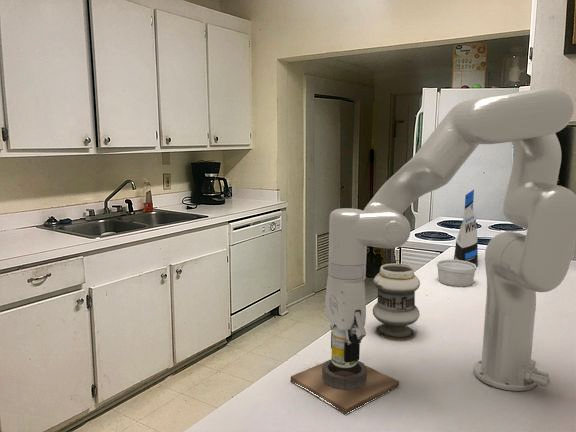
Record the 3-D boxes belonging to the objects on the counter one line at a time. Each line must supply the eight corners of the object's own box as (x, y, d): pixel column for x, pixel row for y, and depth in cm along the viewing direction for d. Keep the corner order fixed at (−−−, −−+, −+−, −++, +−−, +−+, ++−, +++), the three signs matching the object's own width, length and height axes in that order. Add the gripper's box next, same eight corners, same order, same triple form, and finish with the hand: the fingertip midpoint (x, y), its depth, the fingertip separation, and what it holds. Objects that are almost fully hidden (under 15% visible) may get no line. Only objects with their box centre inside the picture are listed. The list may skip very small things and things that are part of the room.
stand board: (399, 386, 98) (399, 370, 98) (345, 414, 88) (346, 396, 87) (343, 359, 110) (343, 344, 110) (290, 381, 100) (290, 365, 100)
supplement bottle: (334, 369, 96) (335, 324, 94) (329, 357, 101) (330, 314, 99) (360, 368, 96) (361, 323, 94) (354, 356, 101) (355, 313, 100)
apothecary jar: (362, 331, 126) (364, 266, 124) (390, 320, 134) (393, 258, 131) (399, 346, 117) (402, 276, 114) (427, 333, 125) (431, 267, 122)
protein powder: (448, 270, 186) (452, 194, 181) (458, 256, 207) (462, 188, 202) (473, 273, 181) (479, 195, 177) (481, 259, 203) (486, 189, 198)
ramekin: (483, 286, 166) (484, 266, 165) (453, 290, 161) (454, 270, 160) (457, 276, 178) (458, 258, 177) (428, 279, 174) (429, 261, 172)
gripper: (313, 261, 102) (312, 340, 105) (349, 284, 86) (347, 376, 89) (344, 258, 104) (342, 336, 107) (385, 280, 89) (382, 370, 91)
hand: (344, 353), depth 98 cm, fingers closed on supplement bottle, 5 cm apart
